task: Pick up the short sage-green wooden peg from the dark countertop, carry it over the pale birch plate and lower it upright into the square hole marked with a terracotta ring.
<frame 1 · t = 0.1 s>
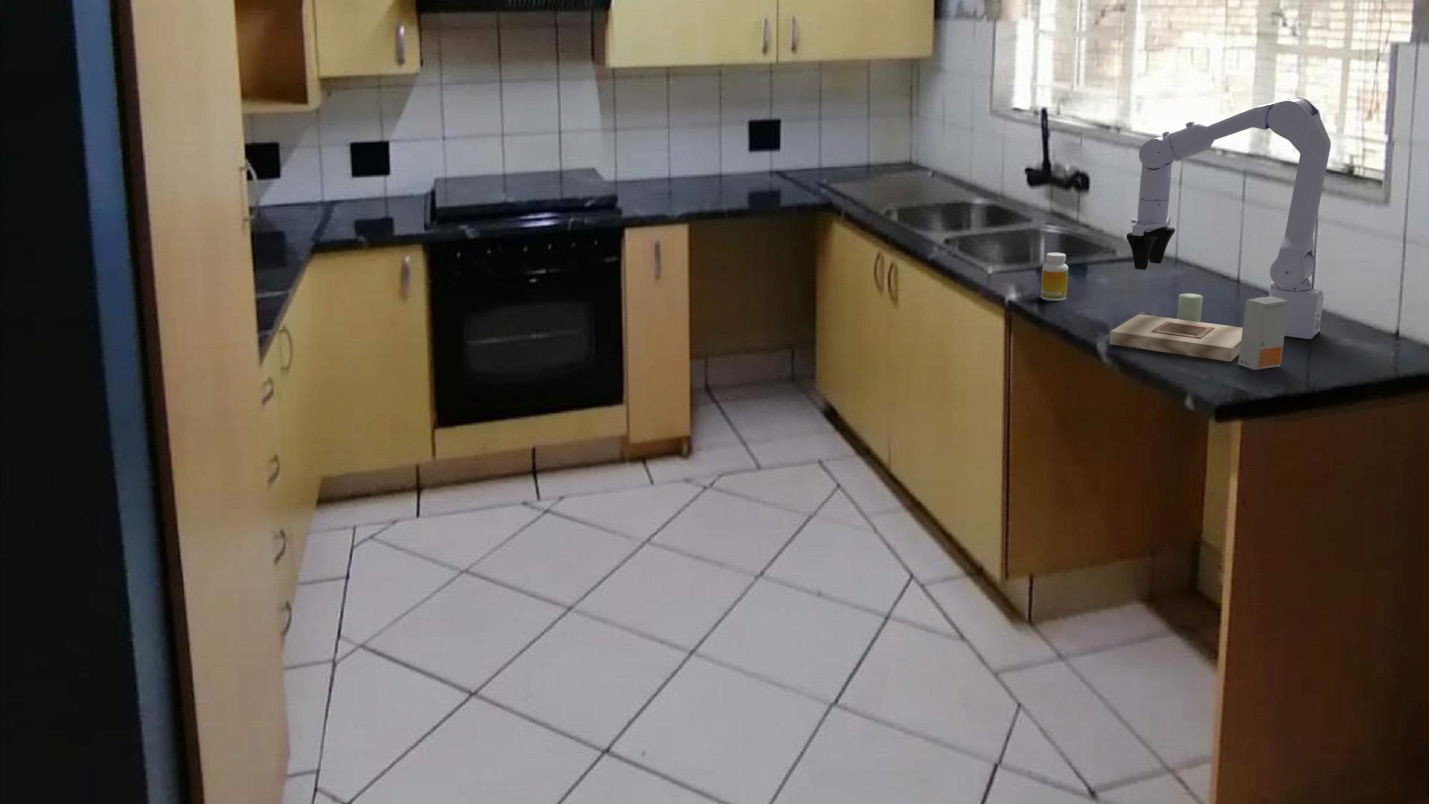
hand: (1148, 266, 264), 10 cm above the worktop, tool pointing down, fingers open, 7 cm apart
hole plate: (1181, 343, 245), on the worktop
green peg: (1187, 325, 257), on the worktop
skincare box: (1259, 367, 230), on the worktop
supplement bottle: (1053, 299, 281), on the worktop
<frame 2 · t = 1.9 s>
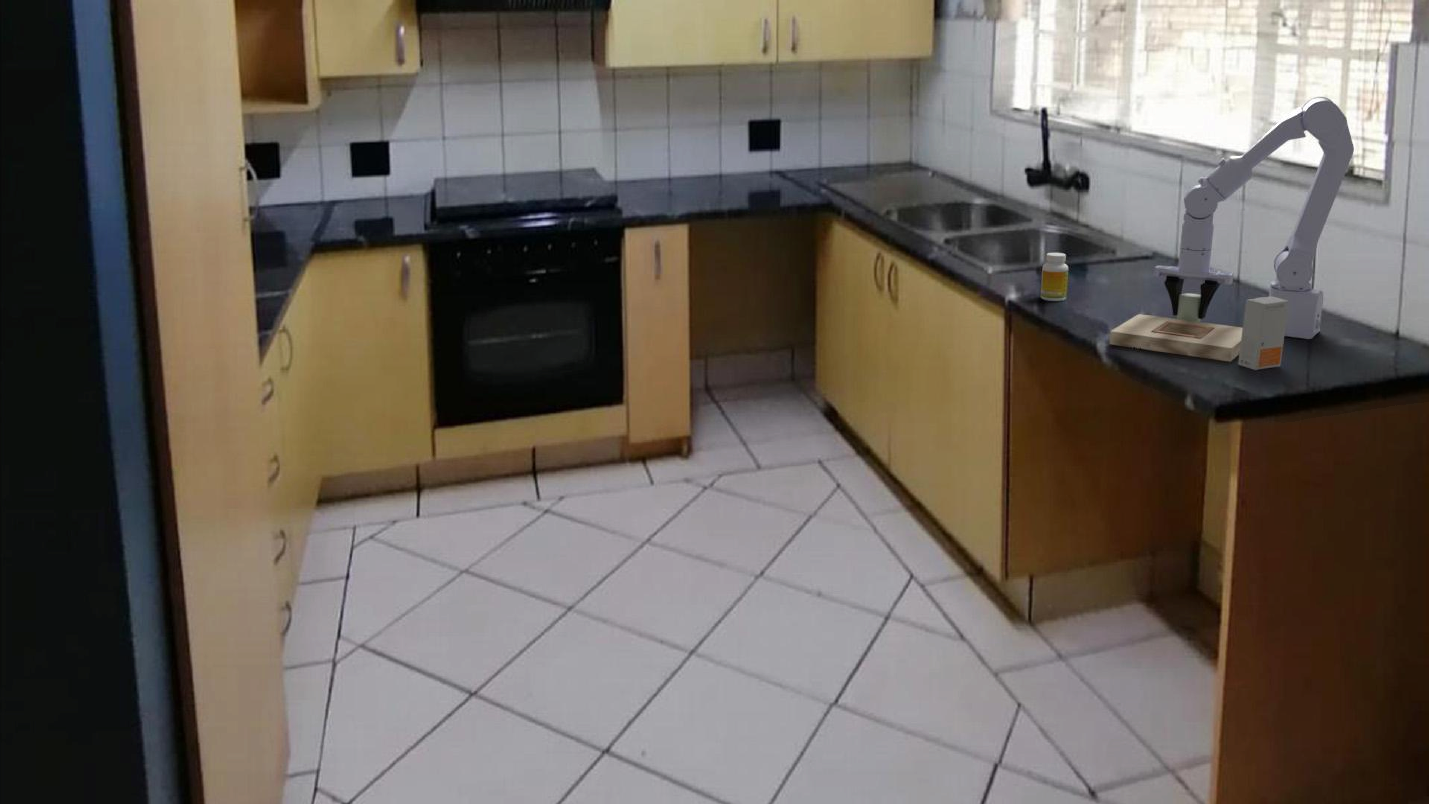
hand: (1188, 316, 257), 2 cm above the worktop, tool pointing down, fingers closed on green peg, 4 cm apart
green peg: (1187, 325, 257), on the worktop, touching gripper
everything else where it was.
when the fingers open (4 cm above the worktop, at t = 6.0 s): green peg drops 2 cm, resting in hole plate.
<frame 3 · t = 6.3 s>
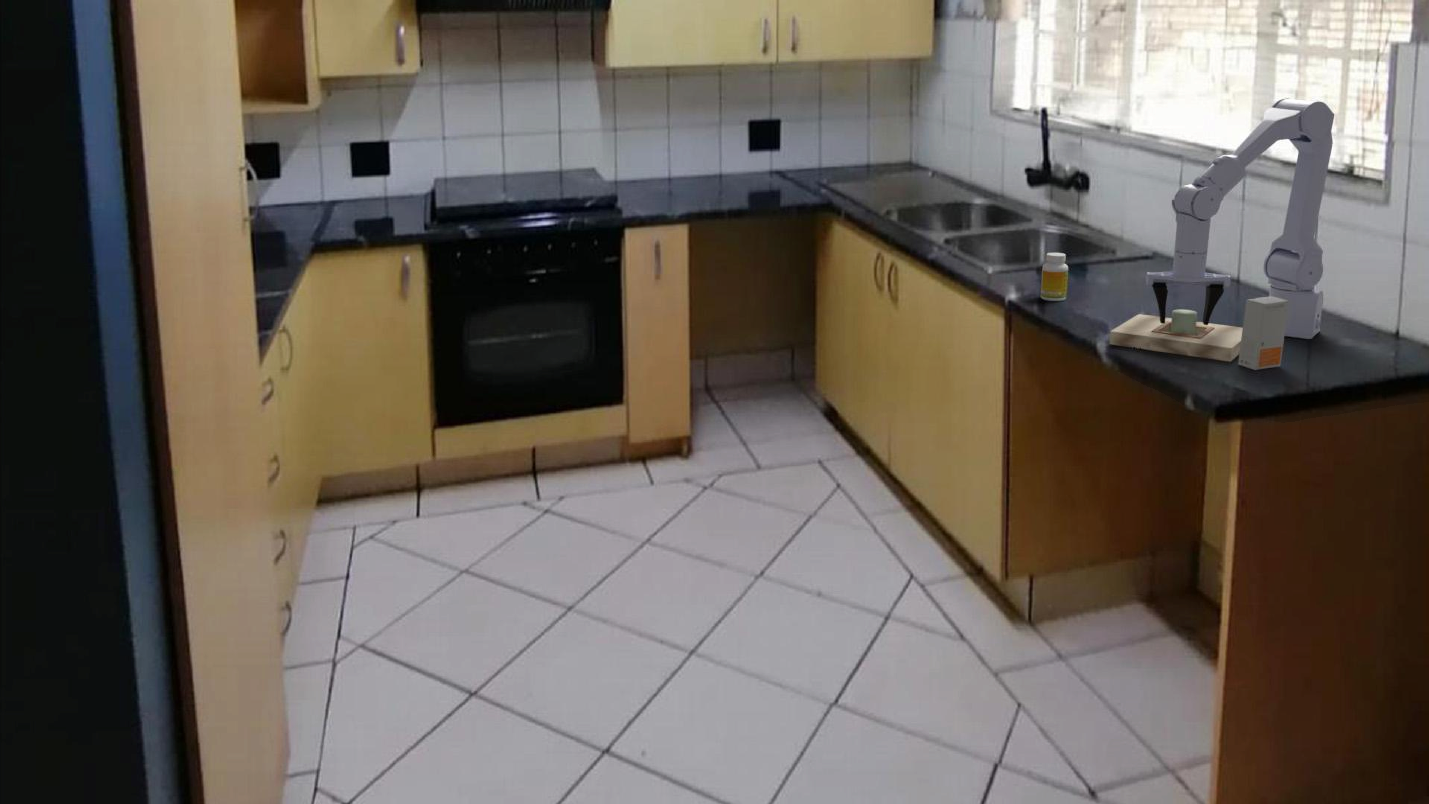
hand: (1183, 322, 243), 4 cm above the worktop, tool pointing down, fingers open, 7 cm apart
green peg: (1181, 343, 245), resting in hole plate
everything else where it was.
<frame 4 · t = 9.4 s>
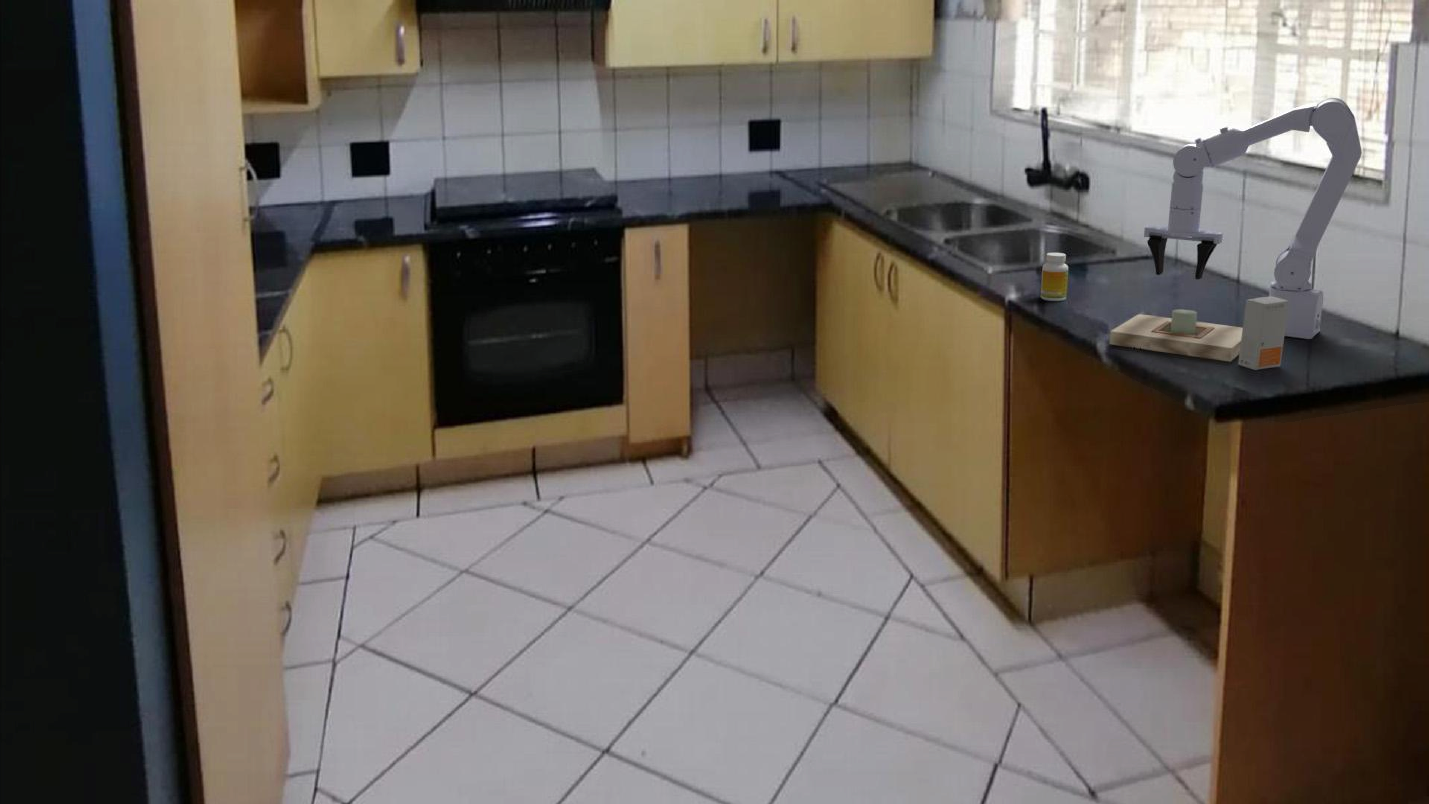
hand: (1178, 276, 257), 9 cm above the worktop, tool pointing down, fingers open, 7 cm apart
nothing on the worktop moved.
at the end: green peg 0.1 cm off-centre on the hole plate, point 0.0 cm above the hole plate's base; green peg tilted 0°; the gripper is holding nothing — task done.
